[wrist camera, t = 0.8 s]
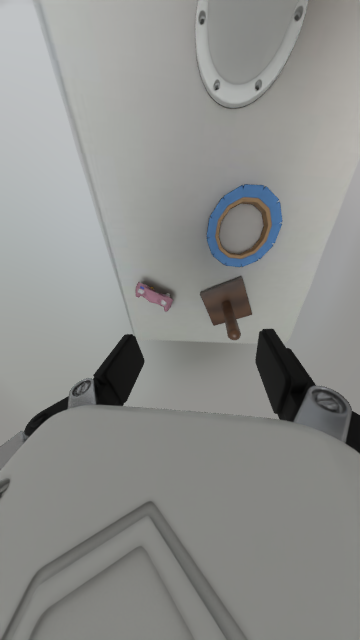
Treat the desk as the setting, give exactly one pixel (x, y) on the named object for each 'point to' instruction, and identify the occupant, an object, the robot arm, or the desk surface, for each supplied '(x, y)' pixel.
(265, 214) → the tape roll
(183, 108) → the desk surface
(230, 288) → the stand
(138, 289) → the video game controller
